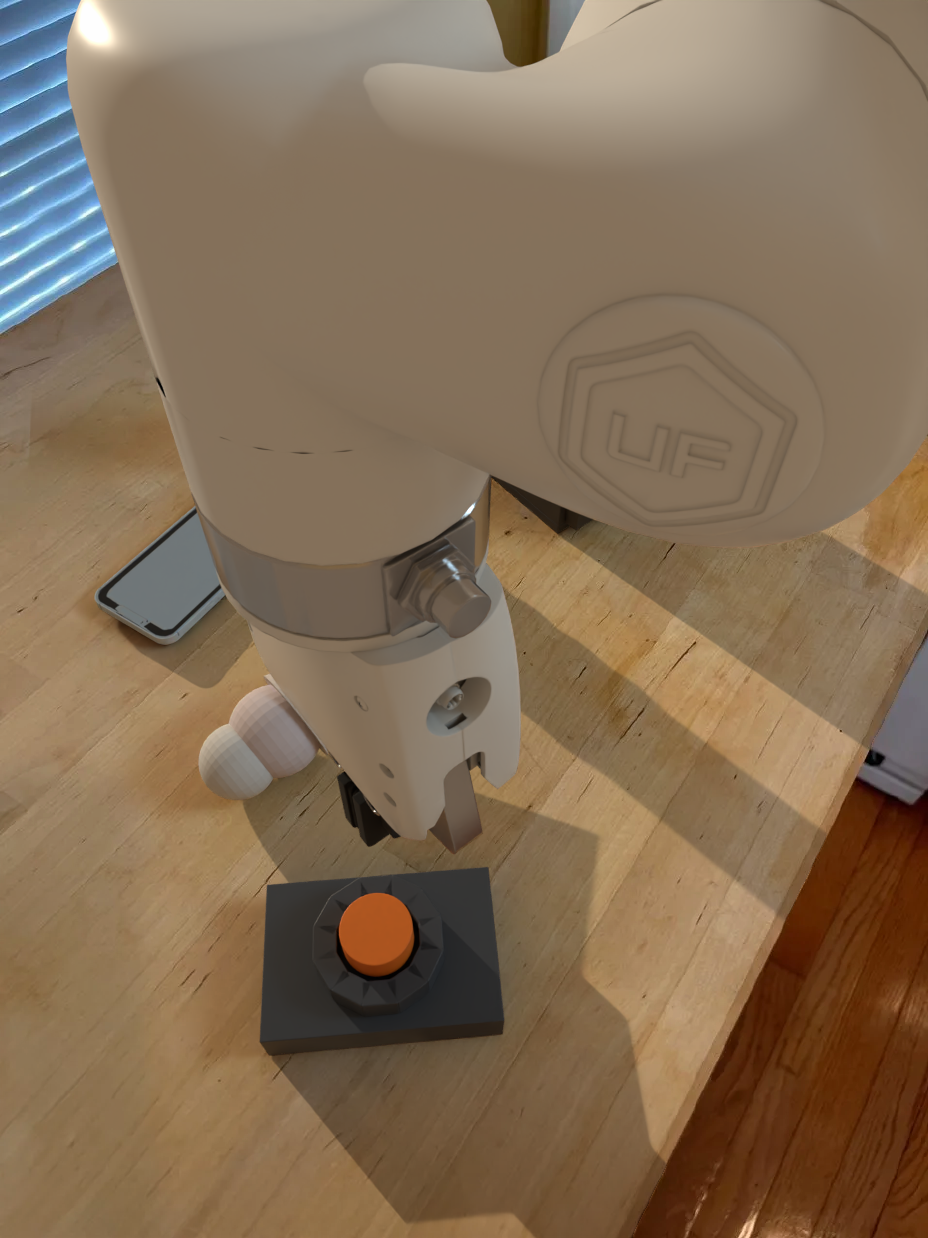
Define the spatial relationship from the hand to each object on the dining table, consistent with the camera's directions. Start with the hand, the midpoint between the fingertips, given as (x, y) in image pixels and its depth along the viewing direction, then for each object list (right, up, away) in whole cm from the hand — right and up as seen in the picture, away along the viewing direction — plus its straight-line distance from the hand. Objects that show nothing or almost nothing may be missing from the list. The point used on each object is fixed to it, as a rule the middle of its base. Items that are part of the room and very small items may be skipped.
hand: (388, 813), depth 39 cm
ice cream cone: (-6, +1, +20) cm, 21 cm away
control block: (-1, -11, +11) cm, 15 cm away
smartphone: (-16, +12, +29) cm, 35 cm away
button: (-1, -8, +8) cm, 11 cm away
